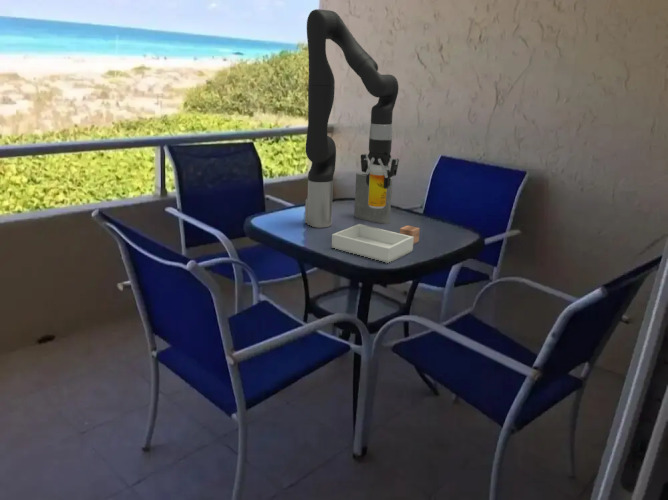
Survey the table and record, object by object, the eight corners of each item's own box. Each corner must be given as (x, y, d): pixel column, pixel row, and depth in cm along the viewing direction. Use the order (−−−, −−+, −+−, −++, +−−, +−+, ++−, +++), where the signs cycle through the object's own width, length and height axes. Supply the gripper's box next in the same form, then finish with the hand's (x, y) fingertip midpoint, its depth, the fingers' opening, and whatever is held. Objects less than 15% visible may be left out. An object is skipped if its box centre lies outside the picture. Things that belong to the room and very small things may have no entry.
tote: (331, 248, 194) (332, 234, 193) (358, 237, 207) (359, 223, 205) (387, 263, 182) (388, 248, 181) (412, 251, 194) (413, 236, 193)
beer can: (384, 209, 197) (387, 166, 192) (366, 208, 198) (368, 164, 193) (386, 205, 203) (389, 162, 198) (369, 203, 204) (371, 161, 199)
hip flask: (391, 222, 226) (394, 171, 219) (385, 224, 223) (388, 173, 216) (357, 214, 234) (359, 165, 228) (351, 216, 231) (353, 167, 225)
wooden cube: (399, 242, 203) (400, 228, 202) (406, 238, 207) (407, 225, 206) (411, 245, 201) (412, 231, 199) (418, 241, 204) (419, 228, 203)
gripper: (356, 136, 194) (354, 185, 199) (393, 140, 186) (390, 192, 191) (368, 133, 199) (366, 181, 205) (405, 138, 192) (401, 188, 197)
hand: (377, 186), depth 198 cm, fingers closed on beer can, 6 cm apart
